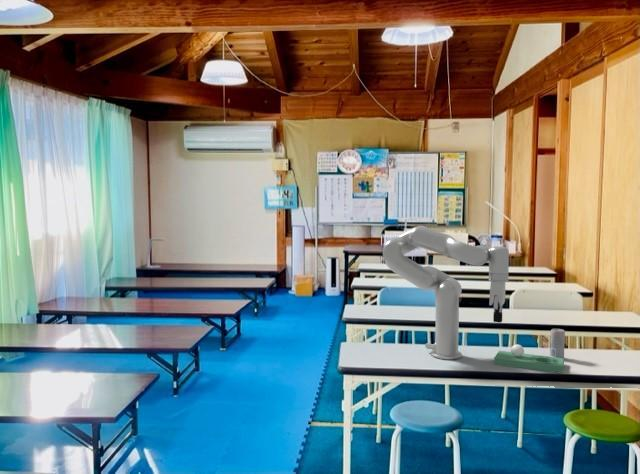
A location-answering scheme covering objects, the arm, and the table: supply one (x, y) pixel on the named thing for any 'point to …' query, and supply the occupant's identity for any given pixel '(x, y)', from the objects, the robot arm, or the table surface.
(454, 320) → the robot arm
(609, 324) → the table surface
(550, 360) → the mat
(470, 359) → the table surface
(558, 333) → the energy drink
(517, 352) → the ball
